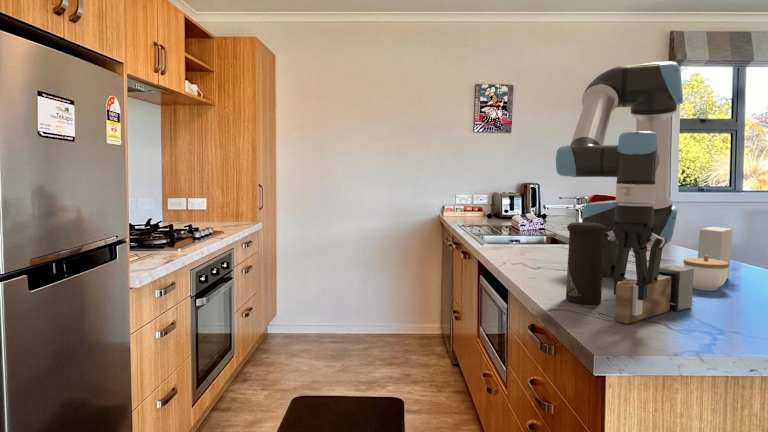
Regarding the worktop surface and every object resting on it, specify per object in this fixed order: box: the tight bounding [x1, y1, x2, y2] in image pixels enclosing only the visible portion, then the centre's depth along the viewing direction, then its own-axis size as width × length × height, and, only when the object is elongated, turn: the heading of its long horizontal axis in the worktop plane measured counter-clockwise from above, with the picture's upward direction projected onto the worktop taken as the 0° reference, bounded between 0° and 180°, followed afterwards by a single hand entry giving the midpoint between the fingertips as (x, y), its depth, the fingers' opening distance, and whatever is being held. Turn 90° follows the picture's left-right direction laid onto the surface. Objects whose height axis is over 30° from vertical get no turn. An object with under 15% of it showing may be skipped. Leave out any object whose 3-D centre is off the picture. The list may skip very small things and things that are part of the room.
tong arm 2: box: [620, 276, 671, 325], centre depth 112 cm, size 18×1×8 cm, turn 125°
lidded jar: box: [683, 255, 729, 292], centre depth 141 cm, size 11×11×9 cm
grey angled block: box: [659, 264, 694, 312], centre depth 121 cm, size 7×5×9 cm
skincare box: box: [697, 226, 734, 280], centre depth 154 cm, size 8×7×16 cm
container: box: [565, 221, 606, 306], centre depth 126 cm, size 9×9×20 cm
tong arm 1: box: [614, 275, 663, 323], centre depth 113 cm, size 18×1×8 cm, turn 125°
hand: (628, 312), depth 110 cm, fingers open, 3 cm apart
